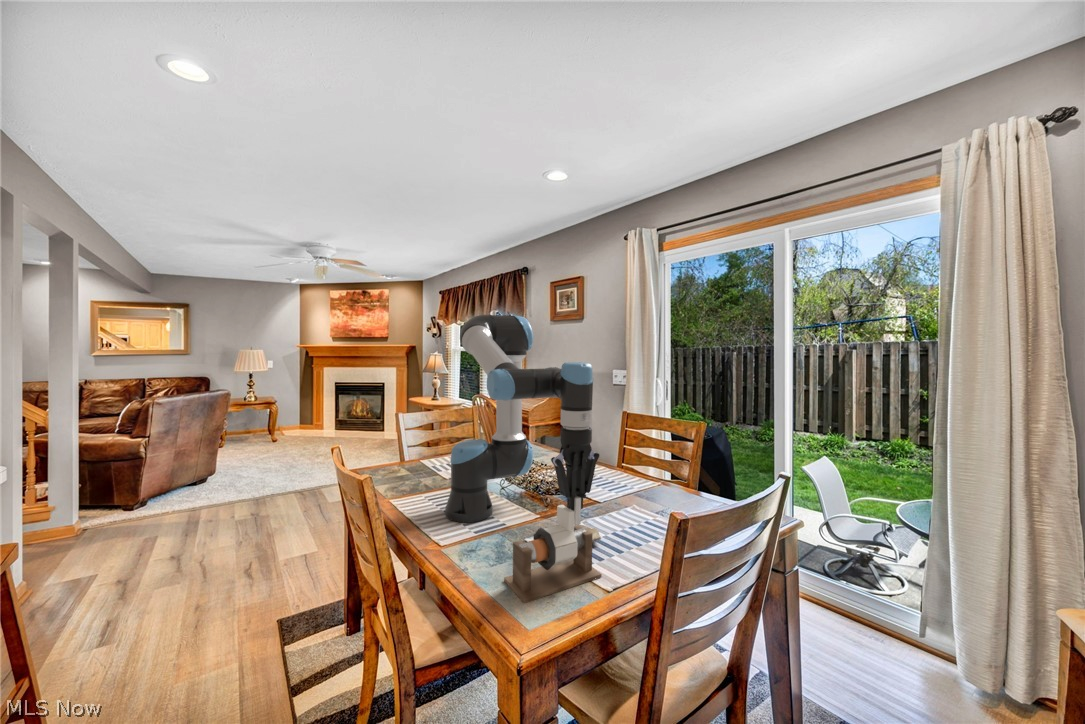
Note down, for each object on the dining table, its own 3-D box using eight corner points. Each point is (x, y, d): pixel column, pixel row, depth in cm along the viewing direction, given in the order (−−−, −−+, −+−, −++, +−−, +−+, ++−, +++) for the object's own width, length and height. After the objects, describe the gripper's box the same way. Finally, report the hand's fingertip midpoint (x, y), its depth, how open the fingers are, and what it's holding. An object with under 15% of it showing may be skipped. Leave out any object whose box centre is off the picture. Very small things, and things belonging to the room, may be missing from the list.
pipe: (579, 542, 111) (579, 525, 110) (589, 550, 107) (590, 532, 107) (515, 560, 101) (515, 541, 101) (524, 568, 98) (524, 549, 97)
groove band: (539, 553, 105) (540, 534, 105) (550, 562, 101) (550, 542, 101) (526, 557, 103) (526, 537, 103) (536, 566, 99) (536, 546, 99)
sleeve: (558, 551, 110) (559, 502, 109) (577, 565, 103) (578, 513, 102) (537, 557, 107) (538, 507, 106) (555, 572, 100) (556, 518, 99)
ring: (537, 557, 107) (537, 523, 107) (556, 574, 100) (556, 537, 99) (532, 559, 106) (532, 524, 106) (550, 576, 99) (551, 538, 98)
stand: (577, 559, 114) (578, 521, 114) (601, 577, 105) (602, 536, 105) (504, 580, 103) (504, 539, 103) (524, 602, 95) (524, 557, 94)
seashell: (549, 542, 124) (550, 532, 124) (575, 529, 133) (575, 519, 132) (583, 556, 116) (583, 545, 116) (608, 541, 125) (608, 531, 125)
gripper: (562, 432, 99) (561, 534, 100) (607, 426, 106) (605, 522, 107) (545, 426, 106) (544, 522, 107) (588, 421, 112) (587, 512, 114)
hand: (574, 522), depth 107 cm, fingers closed
